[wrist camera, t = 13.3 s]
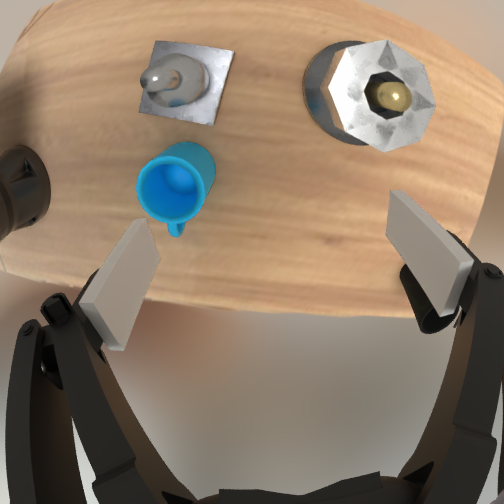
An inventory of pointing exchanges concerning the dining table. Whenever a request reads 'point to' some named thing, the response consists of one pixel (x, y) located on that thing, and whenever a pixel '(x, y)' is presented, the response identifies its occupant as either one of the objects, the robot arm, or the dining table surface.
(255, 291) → the dining table surface
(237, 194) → the dining table surface
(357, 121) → the faceted steel ring
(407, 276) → the cup
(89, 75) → the dining table surface
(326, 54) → the hub
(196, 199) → the mug
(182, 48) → the stand
